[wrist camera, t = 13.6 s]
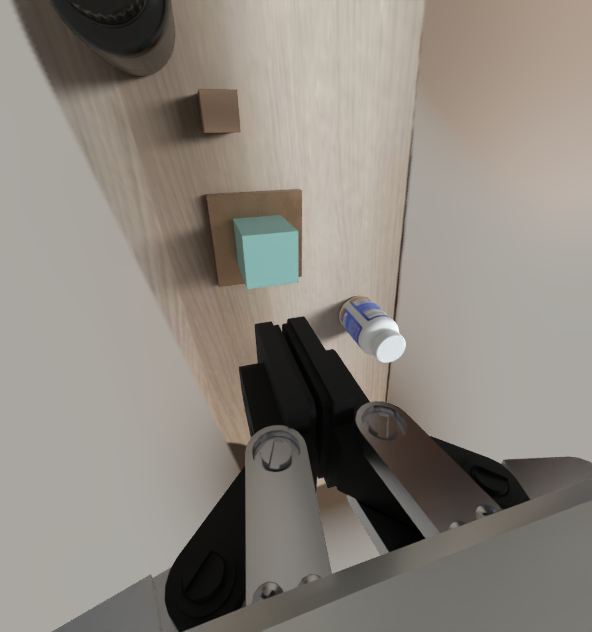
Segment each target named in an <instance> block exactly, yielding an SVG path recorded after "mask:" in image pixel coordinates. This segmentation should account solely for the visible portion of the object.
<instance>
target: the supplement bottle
mask: <svg viewBox="0 0 592 632" xmlns="http://www.w3.org/2000/svg"><path fill="white" fill-rule="evenodd" d="M50 2H51V4H52V6H53V7H54V9H55V10H56V12H57V13H58V15H59V16H60V17H61V19H62V20H63V21H64V23H65V24H66V25H67V26H68V27H69V28H70V29H71V30H72V31H73V32H74V34H75V35H77V36H78V37H79V38H80V39H81V40H82V41H83V42H84V43H85V44H87V45H88V46H89V47H90V48H91V49H92V50H93V51H94V52H96V53H97V54H98V55H99V56H100V57H101V58H102V59H104V60H105V61H106V62H107V63H109V64H110V65H111V66H113V67H114V68H116V69H118V70H120V71H122V72H124V73H127V74H130V75H135V76H146V75H151V74H153V73H156V72H157V71H159V70H160V69H162V68H163V67H164V66H165V65H166V63H167V62H168V60H169V59H170V57H171V54H172V51H173V48H174V42H175V25H174V17H173V10H172V3H171V0H50Z"/></svg>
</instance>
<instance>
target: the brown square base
mask: <svg viewBox="0 0 592 632" xmlns="http://www.w3.org/2000/svg"><path fill="white" fill-rule="evenodd" d="M206 198H207V205H208V212H209V220H210V227H211V234H212V241H213V248H214V255H215V262H216V269H217V276H218V283H219V287H221V286H229V285H237V284H245V282H244V279H243V277H242V274H241V272H240V269H239V266H238V260H237V251H236V242H235V232H234V223H233V219H236V218H249V217H262V216H275V215H281V216H282V217H283V218H285V219H286V220H287V221H288V222H289V223H290V224H291V225H292V226H293V227H294V228H296V229H297V230H298V276H299V277H301V276H302V190H300V189H292V190H274V191H256V192H238V193H220V194H206Z"/></svg>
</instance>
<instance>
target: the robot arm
mask: <svg viewBox="0 0 592 632" xmlns="http://www.w3.org/2000/svg"><path fill="white" fill-rule="evenodd" d="M255 335H256V347H257V359H258V363H257V364H252V365H246V366H241V367H239V373H240V381H241V389H242V395H243V401H244V407H245V412H246V416H247V421H248V426H249V431H250V435H251V439H250V440H249V442H248V444H247V447H246V453H245V467H244V468H243V469H242V471H241V472H240V473H239V475H238V476H237V477H236V479H235V480H234V481H233V483H232V484H231V485H230V487H229V488H228V490H227V491H226V492H225V494H224V495H223V496H222V498H221V499H220V500H219V502H218V503H217V504H216V506H215V507H214V508H213V510H212V511H211V513H210V514H209V515H208V517H207V518H206V519H205V521H204V522H203V523H202V525H201V526H200V527H199V529H198V530H197V531H196V533H195V534H194V536H193V537H192V538H191V539H190V541H189V542H188V544H187V545H186V546H185V548H184V549H183V550H182V552H181V553H180V554H179V556H178V557H177V559H176V561H175V562H174V564H173V566H172V567H171V568H169V569H167V570H166V571H164V572H162V573H161V574H159V575H157V576H156V577H154V578H152V576H151V575H149V576H147V577H145V578H143V579H142V580H140V581H138V582H137V583H135V584H133V585H131V586H130V587H128V588H126V589H125V590H123V591H121V592H120V593H118V594H116V595H114V596H113V597H111V598H109V599H107V600H106V601H104V602H102V603H100V604H99V605H97V606H95V607H94V608H92V609H90V610H88V611H87V612H85V613H83V614H82V615H80V616H78V617H76V618H75V619H73V620H71V621H70V622H68V623H66V624H64V625H63V626H61V627H59V628H57V629H56V630H54V631H52V632H592V463H591V462H589V461H586V460H583V459H580V458H576V457H550V458H529V459H507V460H503V462H502V464H500V463H498V462H496V461H494V460H492V459H490V458H488V457H485V456H482V455H479V454H477V453H474V452H471V451H469V450H466V449H464V448H461V447H458V446H455V445H453V444H450V443H447V442H445V441H442V440H439V439H437V438H434V437H431V436H429V435H428V434H427V433H426V432H425V431H424V430H423V429H422V428H421V427H420V426H419V425H418V424H417V423H416V422H415V421H414V420H413V419H412V418H411V417H410V416H409V415H408V414H407V413H406V412H405V411H403V410H402V409H401V408H399V407H397V406H395V405H393V404H391V403H387V402H383V401H374V402H370V401H369V400H368V398H367V397H366V395H365V394H364V393H363V391H362V390H361V388H360V387H359V385H358V384H357V382H356V381H355V379H354V378H353V376H352V375H351V373H350V372H349V370H348V369H347V367H346V366H345V364H344V363H343V361H342V360H341V358H340V357H339V355H338V354H337V353H336V351H335V350H333V349H331V350H325V348H324V347H323V345H322V344H321V342H320V340H319V339H318V337H317V336H316V334H315V333H314V331H313V329H312V328H311V326H310V325H309V323H308V321H307V320H306V318H305V317H297V318H291V319H288V320H287V323H286V324H283V325H282V331H281V329H280V327H279V325H274V326H273V323H272V322H265V323H259V324H255ZM317 477H318V478H323V477H324V479H325V482H326V484H327V487H328V488H330V487H334V486H336V487H337V489H338V490H339V491H341V492H343V493H345V494H347V499H348V501H349V503H350V505H351V507H352V509H353V510H354V512H355V513H356V515H357V517H358V519H359V520H360V522H361V523H362V525H363V526H364V529H365V530H366V532H367V533H368V535H369V537H370V538H371V540H372V542H373V543H374V545H375V546H376V548H377V550H378V551H379V553H380V555H381V556H378V557H376V558H373V559H370V560H368V561H365V562H362V563H360V564H357V565H355V566H352V567H349V568H347V569H344V570H341V571H339V572H336V573H333V574H332V573H331V567H330V562H329V557H328V552H327V547H326V542H325V537H324V532H323V528H322V522H321V517H320V512H319V507H318V501H317V496H316V484H317Z"/></svg>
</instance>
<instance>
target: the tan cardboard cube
mask: <svg viewBox="0 0 592 632" xmlns="http://www.w3.org/2000/svg"><path fill="white" fill-rule="evenodd" d="M197 94H198V102H199V109H200V117H201V124H202V132H204V133H225V132H240V120H239V108H238V96H237V90H228V89H199V90H198V93H197Z"/></svg>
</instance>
